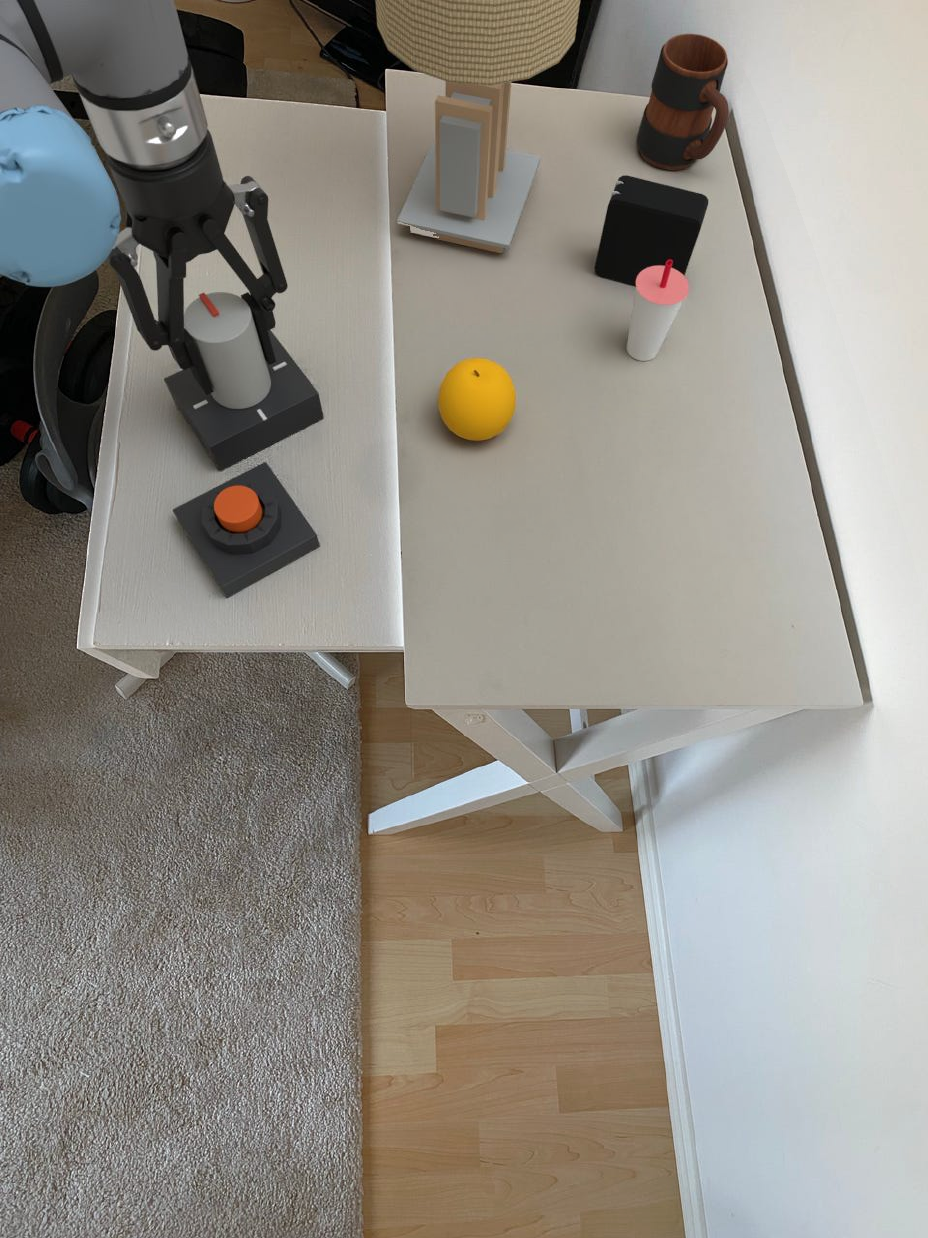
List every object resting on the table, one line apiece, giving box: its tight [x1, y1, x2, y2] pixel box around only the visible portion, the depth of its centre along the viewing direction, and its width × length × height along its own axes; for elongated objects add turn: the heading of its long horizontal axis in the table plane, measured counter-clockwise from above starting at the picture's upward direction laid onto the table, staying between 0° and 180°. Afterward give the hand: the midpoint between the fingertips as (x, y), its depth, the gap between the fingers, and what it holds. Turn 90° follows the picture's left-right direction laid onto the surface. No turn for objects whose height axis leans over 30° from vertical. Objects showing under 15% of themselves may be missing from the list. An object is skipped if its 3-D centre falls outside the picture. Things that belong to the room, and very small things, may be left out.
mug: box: [636, 33, 730, 171], centre depth 95 cm, size 9×12×12 cm
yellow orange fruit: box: [437, 357, 517, 442], centre depth 79 cm, size 8×8×8 cm
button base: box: [172, 461, 321, 599], centre depth 74 cm, size 10×10×4 cm
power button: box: [214, 486, 262, 533], centre depth 72 cm, size 4×4×2 cm
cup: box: [626, 259, 690, 362], centre depth 81 cm, size 5×5×12 cm
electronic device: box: [593, 174, 709, 287], centre depth 87 cm, size 4×10×10 cm, turn 71°
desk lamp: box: [375, 0, 581, 254], centre depth 80 cm, size 20×20×35 cm
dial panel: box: [163, 329, 325, 472], centre depth 80 cm, size 12×10×4 cm
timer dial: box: [184, 291, 271, 409], centre depth 74 cm, size 6×6×9 cm
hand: (235, 368), depth 76 cm, fingers closed on timer dial, 6 cm apart
